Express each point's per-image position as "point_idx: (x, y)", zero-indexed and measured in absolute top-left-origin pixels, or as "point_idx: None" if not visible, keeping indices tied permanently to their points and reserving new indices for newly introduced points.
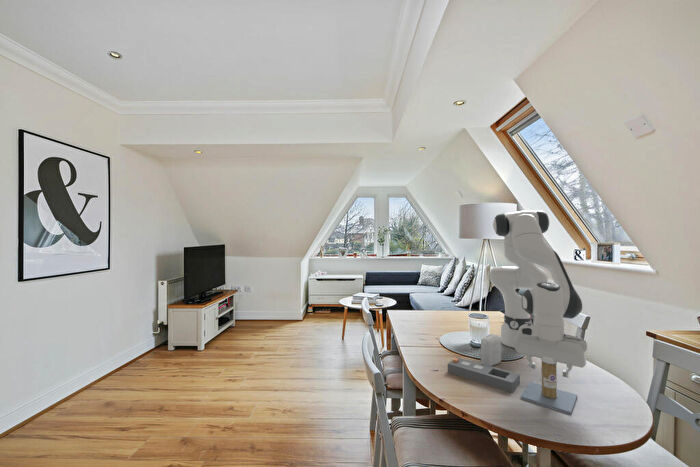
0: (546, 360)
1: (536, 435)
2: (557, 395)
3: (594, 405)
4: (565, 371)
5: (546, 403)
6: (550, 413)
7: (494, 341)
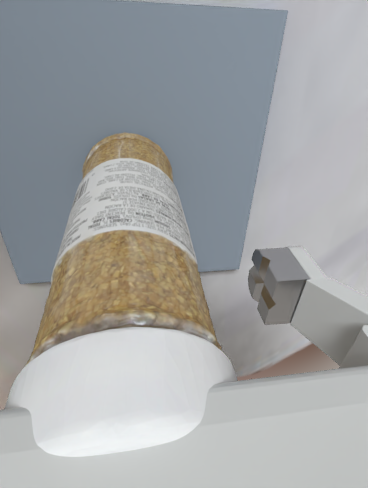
0: None
1: None
2: (170, 137)
3: (358, 80)
4: (292, 307)
5: None
6: None
7: None
